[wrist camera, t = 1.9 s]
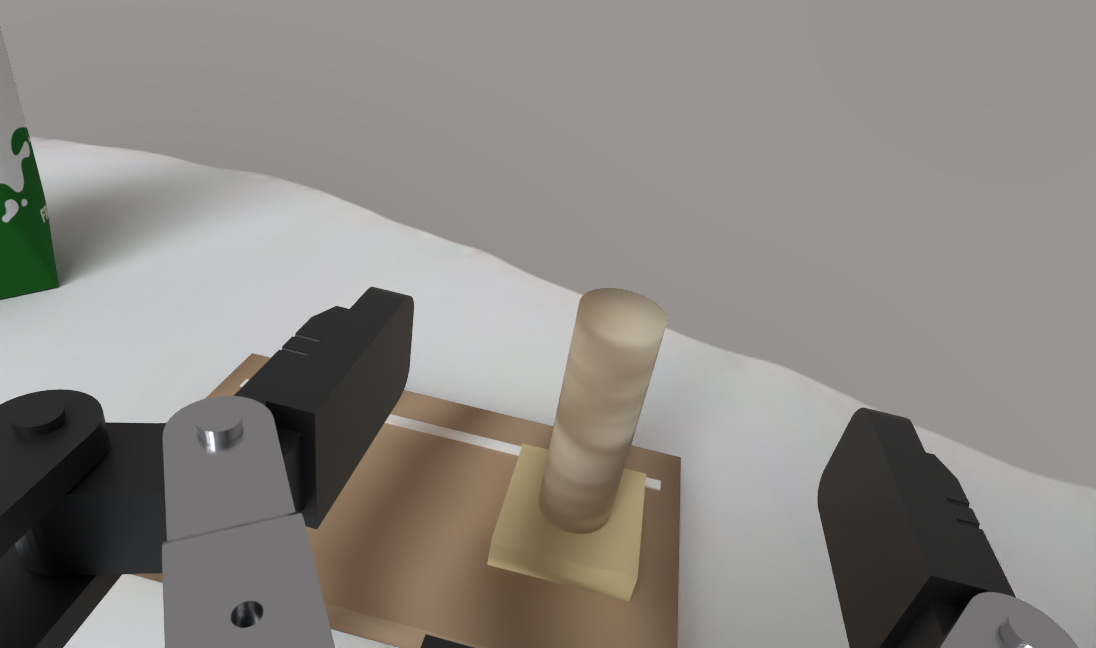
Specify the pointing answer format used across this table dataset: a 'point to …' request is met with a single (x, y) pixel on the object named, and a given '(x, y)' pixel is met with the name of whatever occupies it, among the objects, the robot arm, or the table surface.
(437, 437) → the walnut board
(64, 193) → the table surface
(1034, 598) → the table surface
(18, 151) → the milk carton
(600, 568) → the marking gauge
